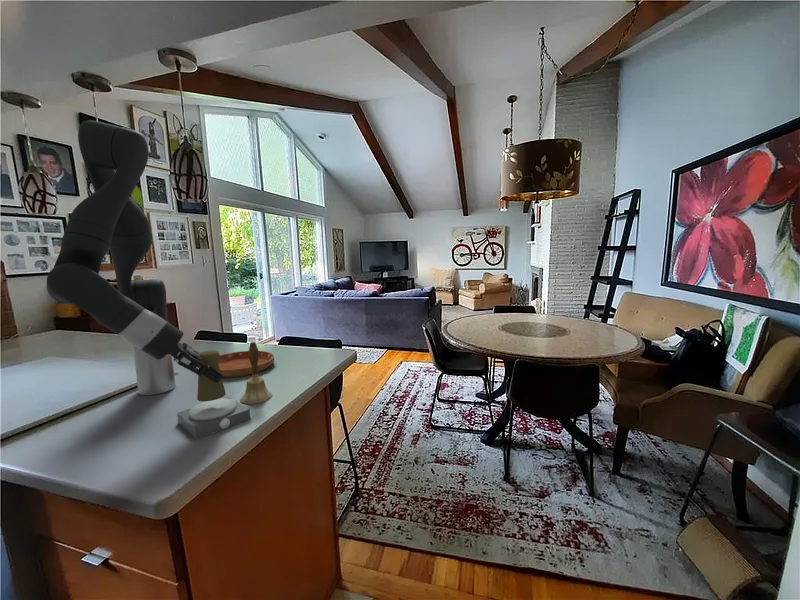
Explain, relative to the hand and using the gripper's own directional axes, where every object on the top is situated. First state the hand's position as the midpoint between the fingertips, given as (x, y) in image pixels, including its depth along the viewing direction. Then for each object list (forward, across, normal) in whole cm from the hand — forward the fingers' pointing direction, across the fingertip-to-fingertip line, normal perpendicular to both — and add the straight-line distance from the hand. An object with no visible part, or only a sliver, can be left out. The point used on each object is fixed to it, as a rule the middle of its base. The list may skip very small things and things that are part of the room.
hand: (218, 375), depth 83 cm
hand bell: (+15, +8, +1) cm, 17 cm away
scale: (+6, 0, +9) cm, 11 cm away
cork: (+2, 0, +5) cm, 5 cm away
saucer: (+15, +40, 0) cm, 43 cm away
